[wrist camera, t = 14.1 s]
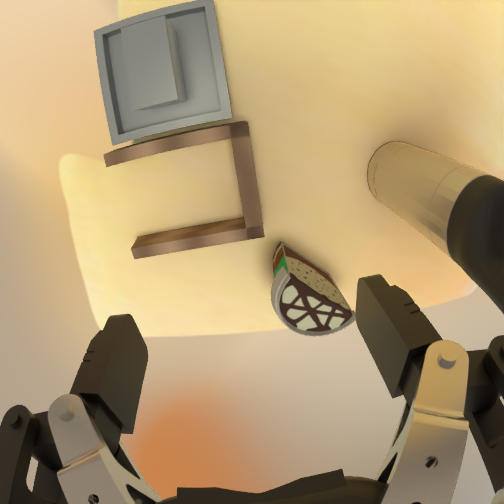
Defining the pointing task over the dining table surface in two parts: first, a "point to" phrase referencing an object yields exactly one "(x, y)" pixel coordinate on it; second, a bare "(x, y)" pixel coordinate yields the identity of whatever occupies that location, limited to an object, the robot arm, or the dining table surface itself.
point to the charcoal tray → (193, 66)
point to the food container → (307, 296)
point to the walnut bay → (214, 231)
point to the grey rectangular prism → (153, 64)
